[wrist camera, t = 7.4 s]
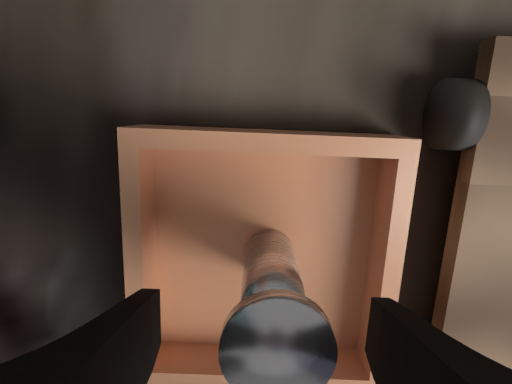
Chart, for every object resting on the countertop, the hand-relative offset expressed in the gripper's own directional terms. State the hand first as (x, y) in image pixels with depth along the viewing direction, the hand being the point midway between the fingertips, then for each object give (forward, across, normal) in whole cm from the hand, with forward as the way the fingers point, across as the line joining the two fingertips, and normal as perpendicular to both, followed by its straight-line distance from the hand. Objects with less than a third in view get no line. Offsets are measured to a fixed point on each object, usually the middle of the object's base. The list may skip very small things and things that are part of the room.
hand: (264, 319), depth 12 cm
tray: (+6, 0, 0) cm, 6 cm away
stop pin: (+6, 0, 0) cm, 6 cm away
